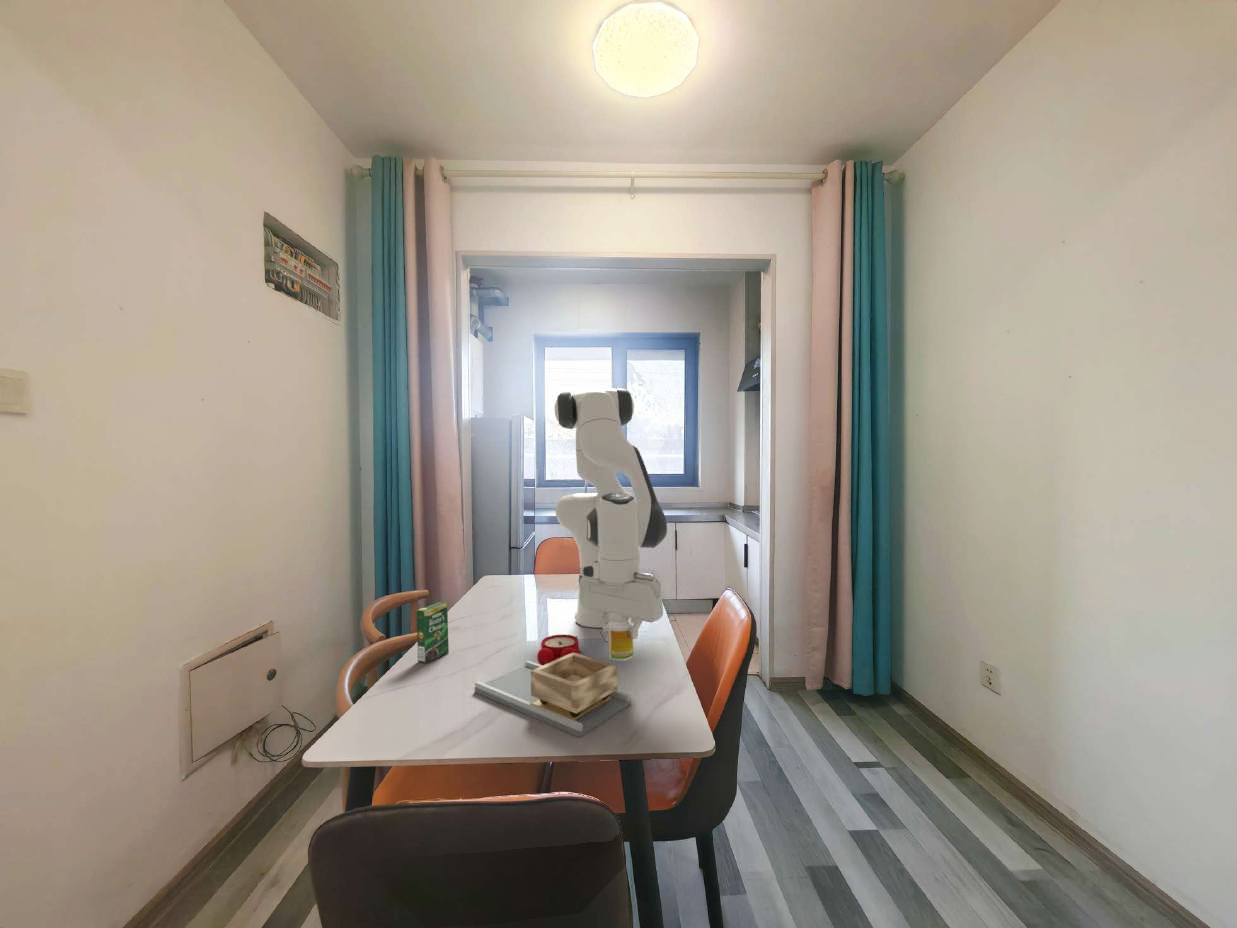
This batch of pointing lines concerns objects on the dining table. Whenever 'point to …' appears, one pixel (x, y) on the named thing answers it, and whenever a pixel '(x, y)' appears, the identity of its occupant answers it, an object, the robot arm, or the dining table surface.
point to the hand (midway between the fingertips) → (620, 634)
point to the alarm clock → (557, 648)
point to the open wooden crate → (574, 682)
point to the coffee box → (432, 632)
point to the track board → (517, 695)
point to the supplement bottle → (619, 638)
